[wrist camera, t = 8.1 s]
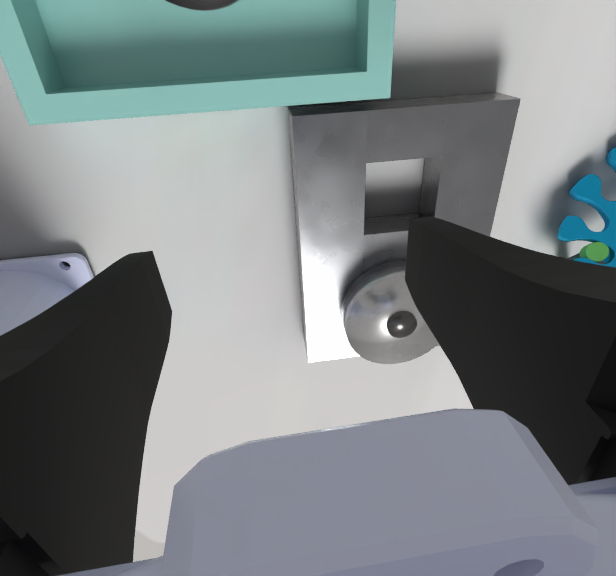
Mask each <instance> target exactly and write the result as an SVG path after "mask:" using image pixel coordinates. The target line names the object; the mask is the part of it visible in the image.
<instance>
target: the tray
mask: <svg viewBox="0 0 616 576" xmlns="http://www.w3.org/2000/svg"><path fill="white" fill-rule="evenodd" d="M395 8H396V0H239V1H238V2H236V3H234V4H233V5H230V6H228V7H225V8H222V9H218V10H213V11H198V10H191V9H187V8H183V7H180V6H177V5H175V4H172V3H170V2H167V1H166V0H0V55H1V58H2V60H3V63H4V65H5V67H6V70H7V72H8V75H9V77H10V80H11V82H12V85H13V87H14V89H15V92H16V94H17V97H18V99H19V102H20V104H21V106H22V109H23V111H24V114H25V116H26V119H27V121H28V123H29V125H40V124H54V123H67V122H80V121H93V120H106V119H120V118H133V117H146V116H159V115H172V114H185V113H199V112H212V111H225V110H238V109H251V108H265V107H278V106H291V105H304V104H317V103H330V102H344V101H357V100H370V99H383V98H390V94H391V77H392V60H393V43H394V25H395Z"/></svg>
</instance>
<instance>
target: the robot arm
mask: <svg viewBox="0 0 616 576" xmlns="http://www.w3.org/2000/svg"><path fill="white" fill-rule="evenodd" d="M62 261H65V262H67V263H69V264H70V267H69V266H65V265H64V264H63V263H62ZM405 282H406V284H407V287H408V289H409V292H410V294H411V297H412V299H413V301H414V303H415V306H416V307H417V309H418V311H419V312H420V314H421V316H422V317H423V319H424V321H425V322H426V324H427V325H428V327H429V329H430V330H431V332H432V333H433V335H434V337H435V338H436V340H437V341H438V343H439V345H440V346H441V348H442V349H443V351H444V352H445V354H446V356H447V357H448V359H449V360H450V362H451V364H452V366H453V367H454V369H455V371H456V373H457V374H458V376H459V378H460V381H461V383H462V385H463V387H464V389H465V391H466V393H467V395H468V397H469V399H470V402H471V404H472V406H473V408H474V409H449V410H442V411H436V412H430V413H424V414H417V415H411V416H405V417H398V418H392V419H386V420H380V421H373V422H367V423H361V424H354V425H348V426H342V427H336V428H329V429H323V430H317V431H311V432H304V433H298V434H292V435H285V436H279V437H273V438H267V439H260V440H254V441H249V442H246V443H243V444H240V445H237V446H234V447H231V448H228V449H225V450H223V451H220V452H217V453H214V454H211V455H208V456H207V457H205V458H203V459H202V460H201V461H199V462H198V463H197V464H196V465H195V466H194V467H193V468H192V469H191V470H190V471H189V472H188V473H187V474H186V475H185V476H184V477H183V478H182V479H181V480H180V481H179V482H178V483H177V484H176V485H174V490H173V497H172V503H171V510H170V516H169V523H168V529H167V536H166V542H165V549H164V555H163V556H161V557H158V558H154V559H149V560H143V561H138V562H133V549H134V536H135V526H136V515H137V504H138V494H139V485H140V477H141V469H142V460H143V453H144V446H145V439H146V432H147V425H148V420H149V416H150V411H151V407H152V403H153V399H154V396H155V392H156V388H157V384H158V381H159V377H160V373H161V370H162V366H163V362H164V359H165V355H166V351H167V347H168V343H169V337H170V329H171V317H172V310H171V307H170V304H169V300H168V297H167V294H166V291H165V288H164V285H163V282H162V279H161V276H160V273H159V270H158V267H157V264H156V261H155V258H154V254H153V251H148V252H140V253H132V254H128V255H126V256H124V257H123V258H121V259H119V260H118V261H116V262H115V263H113V264H112V265H111V266H109V267H108V268H106V269H105V270H104V271H102V272H101V273H99V274H98V275H97V276H95V277H94V276H93V273H92V271H91V268H90V266H89V263H88V261H87V259H86V258H85V257H84V256H83V255H81V254H78V253H69V254H59V255H49V256H39V257H29V258H19V259H9V260H0V576H616V267H609V266H603V265H597V264H591V263H585V262H580V261H575V260H570V259H565V258H561V257H557V256H553V255H548V254H544V253H540V252H536V251H533V250H529V249H526V248H522V247H519V246H516V245H513V244H510V243H507V242H503V241H501V240H498V239H495V238H492V237H489V236H486V235H484V234H481V233H478V232H476V231H473V230H470V229H468V228H465V227H462V226H459V225H457V224H454V223H451V222H448V221H445V220H442V219H439V218H435V217H422V218H414V219H409V228H408V242H407V256H406V270H405Z"/></svg>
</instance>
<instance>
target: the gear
mask: <svg viewBox="0 0 616 576" xmlns="http://www.w3.org/2000/svg"><path fill="white" fill-rule="evenodd" d="M606 160H607V163H608V165H609V166H610V167H611V168H612V169H613V170H614V171H615V172H616V147H615V148H613V149H612V150H611V151H610V152H609V153H608V155H607V158H606ZM569 193H570V195H571V197H572V198H573V199H575V200H577V201H582V202H584V203H587V204H589V205H591V206H592V207H593V208H595V209H596V210H597V211H598V213H599V214H600V215H601V217H602V218H603V220H604V222H605V227H604V229H603V230H602V231H601V232H593V231H591V230H589V229H588V227H587V226H586V224H585V223H584V221H583V220H582V219H581V218H580V217H577V216H567V217H566V218H565V219H564V220H563V221H562V223H561V225H560V227H559V230H558V234H557V238H558V239H559V240H561V241H565V242H569V241H575V240H583V241H589V242H593V243H591V244H589V245H587V246H585V247H583V248H582V249H581V251H580V253H578V254H576V255H574V256H572V257H570V258H567V259H570V260H575V261H580V262H585V263H591V264H597V265H603V266H609V267H616V201H607V200H605V199H604V198H603V197H602V195H601V180H600V178H599V177H598V176H596V175H594V174H589V175H587V176H585V177H584V178H582V179H581V180H580V181H579V182H577V184H576V185H575V186H574V187H573V188H572V189H571V190H570V191H569Z"/></svg>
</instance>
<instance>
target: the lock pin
mask: <svg viewBox="0 0 616 576" xmlns="http://www.w3.org/2000/svg"><path fill="white" fill-rule="evenodd" d="M166 1H167V2H170V3H172V4H175V5H177V6H180V7H183V8H187V9H191V10H198V11H213V10H218V9H222V8H225V7H228V6H230V5H233V4H234V3H236V2H238V1H239V0H166Z"/></svg>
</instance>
